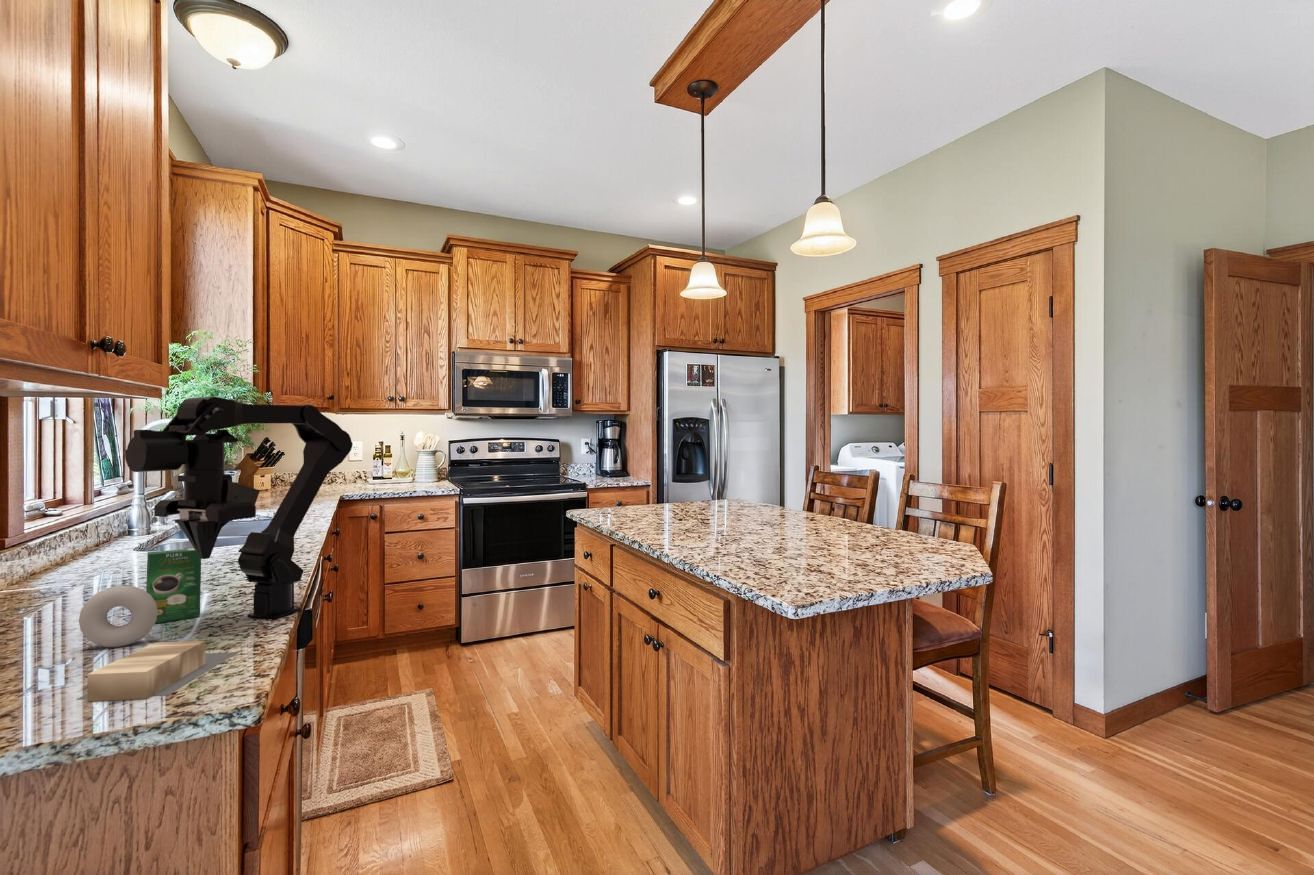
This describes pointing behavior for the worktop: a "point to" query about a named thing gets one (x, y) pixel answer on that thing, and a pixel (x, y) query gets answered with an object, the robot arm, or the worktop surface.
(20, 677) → the worktop surface
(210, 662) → the rubber mat
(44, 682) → the worktop surface
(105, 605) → the donut
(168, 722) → the worktop surface
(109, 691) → the birch block
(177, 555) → the coffee box
